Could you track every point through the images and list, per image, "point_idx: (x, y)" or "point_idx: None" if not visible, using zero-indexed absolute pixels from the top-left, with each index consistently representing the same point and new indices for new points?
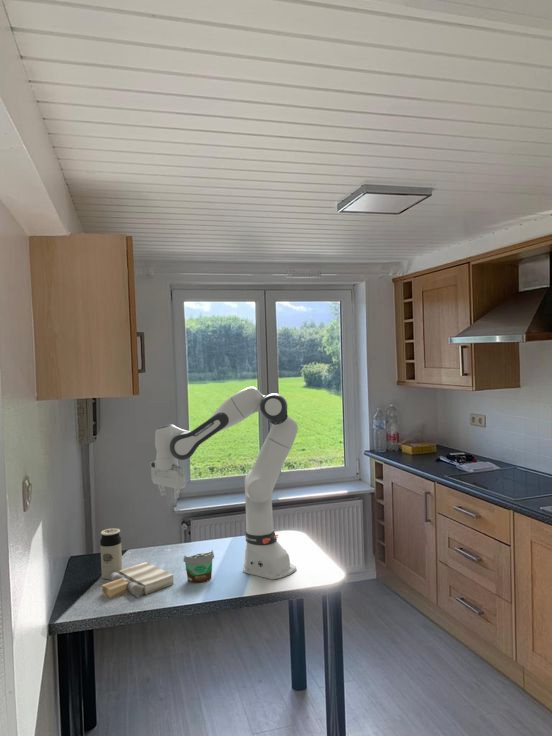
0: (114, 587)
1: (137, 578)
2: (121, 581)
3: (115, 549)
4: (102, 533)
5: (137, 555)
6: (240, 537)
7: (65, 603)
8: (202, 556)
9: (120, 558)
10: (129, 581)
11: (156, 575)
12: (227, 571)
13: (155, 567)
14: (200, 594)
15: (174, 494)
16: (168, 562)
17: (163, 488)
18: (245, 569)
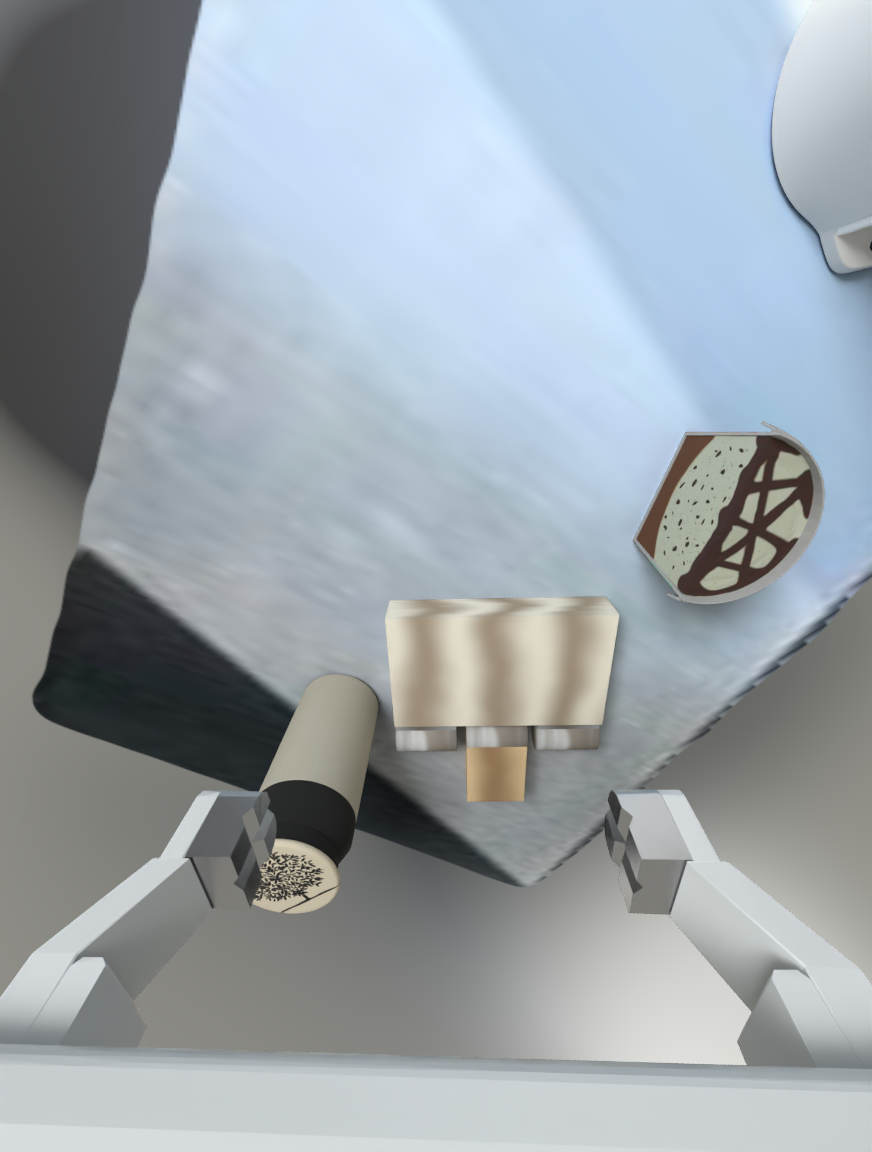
0: (520, 786)
1: (522, 716)
2: (494, 756)
3: (359, 799)
4: (294, 912)
5: (184, 542)
6: None
7: (441, 848)
8: (765, 520)
9: (358, 737)
10: (521, 742)
11: (562, 660)
12: (736, 333)
13: (482, 623)
14: (779, 578)
15: (676, 913)
16: (379, 486)
17: (147, 911)
18: (861, 257)
